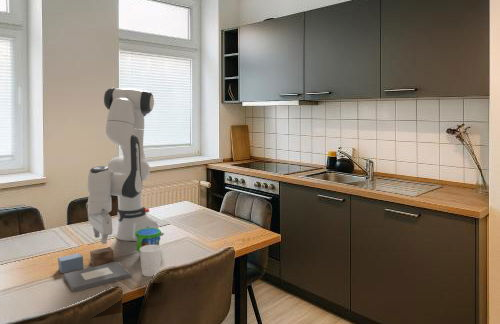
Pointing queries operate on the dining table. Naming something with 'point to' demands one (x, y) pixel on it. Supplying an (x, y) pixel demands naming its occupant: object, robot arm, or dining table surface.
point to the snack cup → (147, 237)
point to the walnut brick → (102, 256)
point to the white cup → (150, 259)
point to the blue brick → (70, 263)
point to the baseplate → (96, 276)
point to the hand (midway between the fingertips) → (100, 240)
